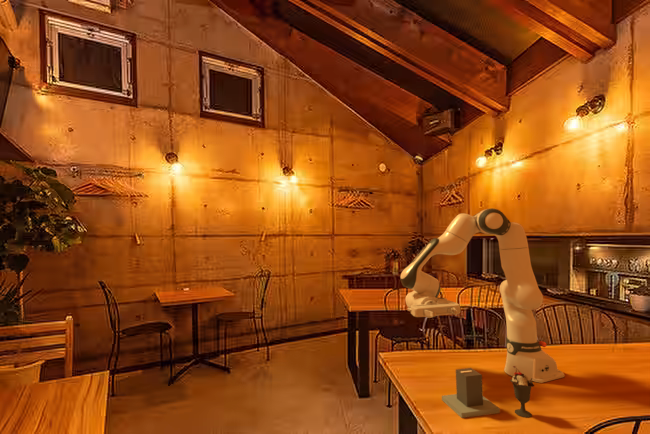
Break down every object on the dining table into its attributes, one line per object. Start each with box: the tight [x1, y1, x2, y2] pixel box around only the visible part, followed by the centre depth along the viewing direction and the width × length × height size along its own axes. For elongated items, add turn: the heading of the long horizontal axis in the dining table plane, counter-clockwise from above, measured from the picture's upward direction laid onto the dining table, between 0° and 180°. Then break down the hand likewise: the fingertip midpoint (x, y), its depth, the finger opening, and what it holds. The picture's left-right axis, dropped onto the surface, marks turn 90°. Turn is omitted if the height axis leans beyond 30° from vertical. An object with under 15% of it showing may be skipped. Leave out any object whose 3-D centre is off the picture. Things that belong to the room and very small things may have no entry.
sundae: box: [509, 366, 535, 419], centre depth 110 cm, size 7×7×15 cm
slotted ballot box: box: [455, 367, 484, 407], centre depth 115 cm, size 6×6×10 cm
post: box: [441, 393, 501, 419], centre depth 115 cm, size 14×12×8 cm
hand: (445, 313), depth 130 cm, fingers open, 8 cm apart
